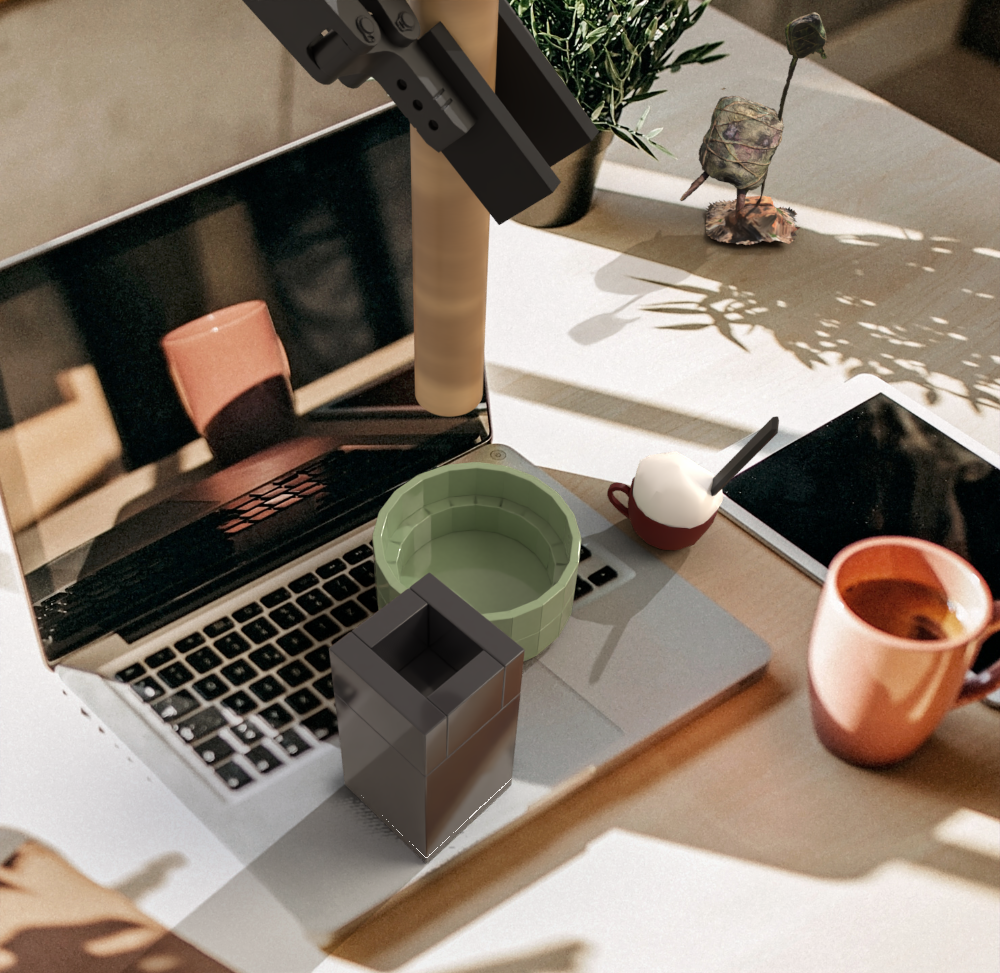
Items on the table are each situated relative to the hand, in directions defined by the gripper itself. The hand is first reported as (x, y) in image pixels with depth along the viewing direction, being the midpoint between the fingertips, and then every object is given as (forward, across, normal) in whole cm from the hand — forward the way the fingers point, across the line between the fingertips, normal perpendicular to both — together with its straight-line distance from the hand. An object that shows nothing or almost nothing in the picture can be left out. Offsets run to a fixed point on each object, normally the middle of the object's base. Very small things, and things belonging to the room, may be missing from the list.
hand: (548, 176), depth 41 cm
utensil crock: (+26, +5, -30) cm, 40 cm away
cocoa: (+31, -21, -25) cm, 45 cm away
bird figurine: (+27, -60, -30) cm, 72 cm away
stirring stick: (+6, 0, -11) cm, 13 cm away
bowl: (+23, -9, -32) cm, 41 cm away
